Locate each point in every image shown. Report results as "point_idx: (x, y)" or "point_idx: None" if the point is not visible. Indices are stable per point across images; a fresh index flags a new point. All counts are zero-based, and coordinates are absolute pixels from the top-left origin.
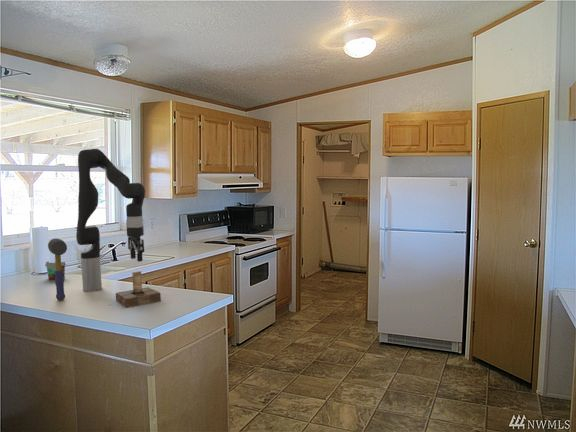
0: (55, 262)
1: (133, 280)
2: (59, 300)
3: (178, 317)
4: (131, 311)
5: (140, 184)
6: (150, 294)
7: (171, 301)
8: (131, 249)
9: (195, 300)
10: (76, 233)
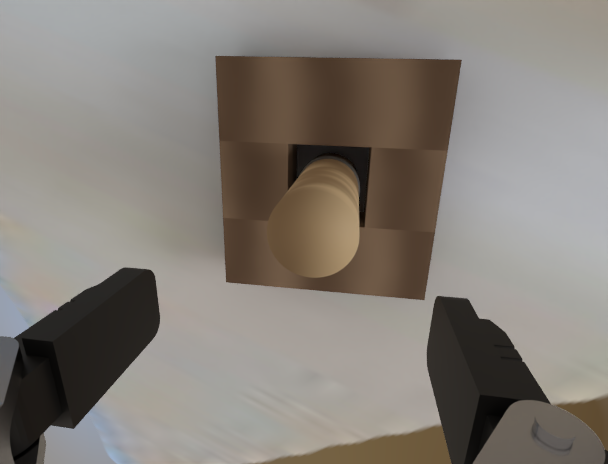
0: None
1: (312, 174)
2: None
3: None
4: (144, 53)
5: None
6: (229, 225)
7: (204, 294)
8: (487, 454)
9: (152, 369)
10: None
